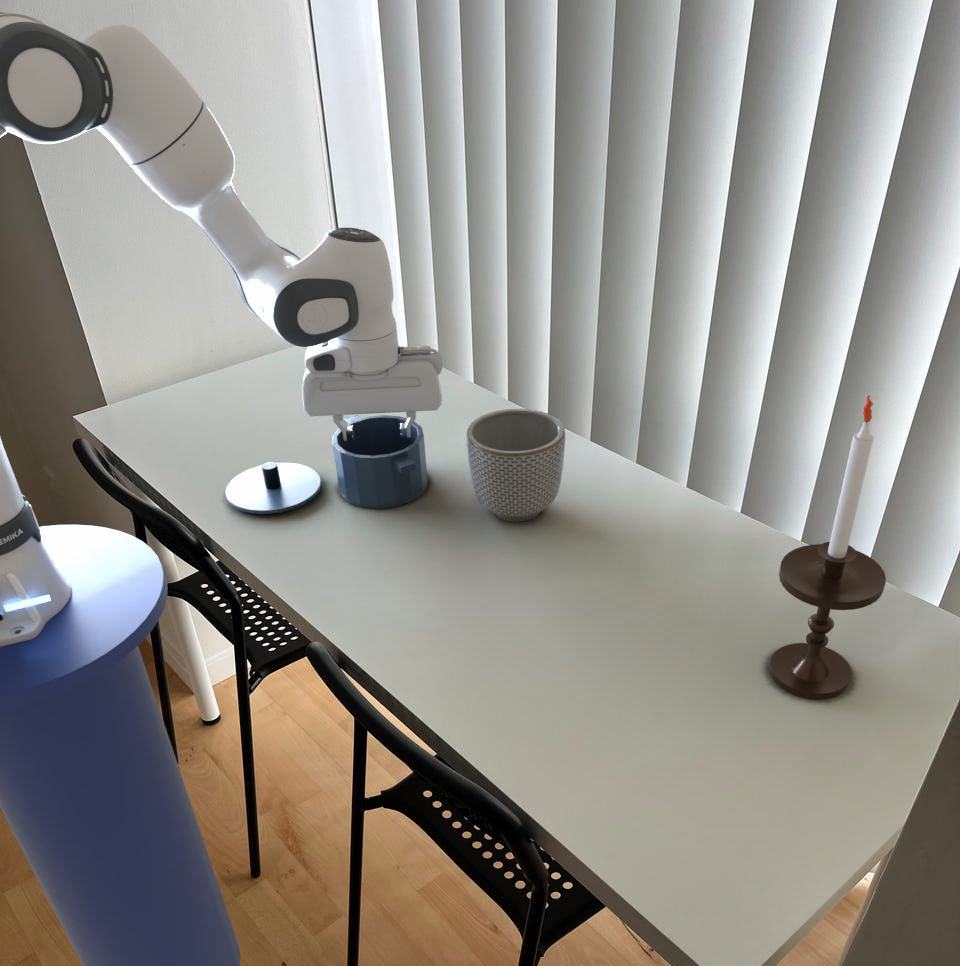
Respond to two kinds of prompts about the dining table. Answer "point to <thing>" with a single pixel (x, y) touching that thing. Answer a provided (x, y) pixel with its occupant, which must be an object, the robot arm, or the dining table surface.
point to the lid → (273, 488)
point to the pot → (380, 462)
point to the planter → (516, 461)
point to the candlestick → (829, 588)
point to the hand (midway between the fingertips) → (377, 437)
